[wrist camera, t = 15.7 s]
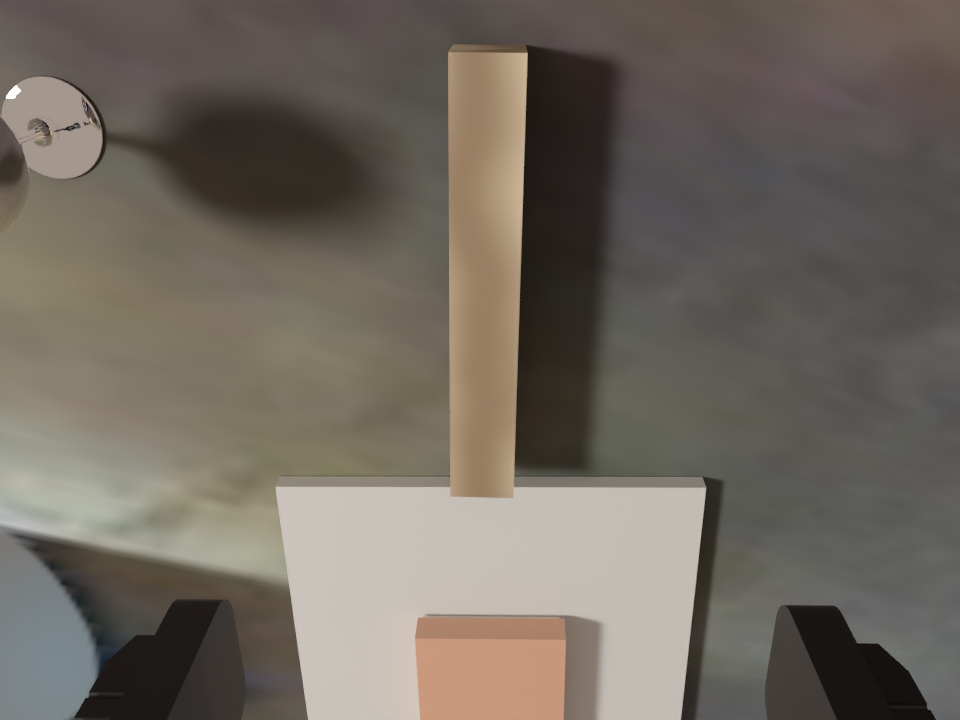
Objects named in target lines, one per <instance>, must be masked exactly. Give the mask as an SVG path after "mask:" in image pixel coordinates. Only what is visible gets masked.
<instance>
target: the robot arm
mask: <svg viewBox="0 0 960 720" xmlns="http://www.w3.org/2000/svg"><path fill="white" fill-rule="evenodd" d="M244 699H245V676H244V670H243V664H242V659H241V653H240V647H239V642H238V636H237V631H236V625H235V619H234V614H233V609H232V606H231V604H230V602H229V601H228V600H207V599H178V600H176V601H174V602H173V603H172V604H171V606H170V608H169V610H168V611H167V613H166V615H165V617H164V619H163V621H162V623H161V625H160V626H159V628H158V630H157V632H156V634H155V635H136V636H135V637H134V638H133V639H132V640H130V641H129V642H128V643H127V644H126V645H125V646H124V647H123V648H122V649H120V650H119V651H118V652H117V653H116V654H115V655H114V656H113V657H111V658H110V659H109V660H108V661H107V662H106V664H105V666H104V667H103V669H102V671H101V673H100V674H99V676H98V678H97V680H96V681H95V683H94V685H93V686H92V688H91V690H90V692H89V698H85V700H84V702H83V704H82V705H81V707H80V709H79V711H78V712H77V714H76V716H75V720H241V717H242V712H243V707H244ZM765 704H766V713H767V719H768V720H936V719H935V717H934V715H933V714H932V712H931V710H928V709H927V703H926V701H925V700H924V698H923V696H922V694H921V692H920V691H919V689H918V687H917V685H916V684H915V682H914V680H913V678H912V677H911V675H910V673H909V671H908V670H906V669H905V668H904V667H903V666H902V665H901V664H900V663H899V662H898V661H897V660H895V659H894V658H893V657H892V656H891V655H890V654H889V653H888V652H887V651H885V650H884V649H883V648H882V647H881V646H880V645H879V644H858V643H857V642H856V640H855V638H854V637H853V635H852V633H851V631H850V629H849V627H848V625H847V623H846V621H845V619H844V617H843V615H842V613H841V612H840V610H839V609H838V608H837V607H835V606H800V605H783V606H781V607H780V608H779V610H778V612H777V617H776V622H775V628H774V635H773V641H772V647H771V653H770V659H769V665H768V671H767V678H766V685H765Z"/></svg>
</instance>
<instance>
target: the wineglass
mask: <svg viewBox="0 0 960 720" xmlns="http://www.w3.org/2000/svg"><path fill="white" fill-rule="evenodd" d="M102 147H103V129H102V125H101V122H100V119H99V116H98V114H97V112H96V110H95V109H94V107H93V105H92V104H91V102H90V101H89V100H88V99H87V98H86V96H85V95H84V94H83V93H81V92H80V91H79V90H78V89H77V88H75V87H74V86H72V85H71V84H69V83H67V82H65V81H63V80H60V79H57V78H54V77H49V76H34V77H29V78H26V79H24V80H21V81H20V82H18V83H17V84H15V85H14V86H13V87H12V88H11V89H10V91H9V92H8V93H7V95H6V97H5V99H4V102H3V105H2V109H1V115H0V234H1V233H2V232H3V231H4V230H5V229H7V228H8V226H9V225H10V224H11V223H12V222H13V221H14V220H15V219H16V218H17V216H18V215H19V213H20V211H21V210H22V208H23V206H24V204H25V201H26V198H27V195H28V190H29V183H30V181H29V168H30V169H32V170H33V171H35V172H37V173H39V174H41V175H44V176H47V177H50V178H56V179H70V178H75V177H78V176H81V175H83V174H84V173H86V172H87V171H89V170H90V169H91V168H92V167H93V166H94V165H95V163H96V162H97V161H98V159H99V157H100V154H101V151H102Z"/></svg>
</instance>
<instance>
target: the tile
mask: <svg viewBox="0 0 960 720" xmlns="http://www.w3.org/2000/svg"><path fill="white" fill-rule="evenodd" d="M415 647H416V663H417V678H418V693H419V708H420V720H564V688H565V655H566V634H565V622H564V619H560V617H557V616H429V615H422V618H418V620H417V627H416V634H415Z"/></svg>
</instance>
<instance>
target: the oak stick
mask: <svg viewBox="0 0 960 720" xmlns="http://www.w3.org/2000/svg"><path fill="white" fill-rule="evenodd" d="M527 58H528V52H527V48H526V45H493V44H454V45H453V46H452V47H451V49H450V50H449V52H448V97H449V309H450V497H486V498H513V494H514V463H515V431H516V400H517V369H518V338H519V307H520V276H521V245H522V214H523V183H524V152H525V121H526V90H527Z"/></svg>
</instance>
